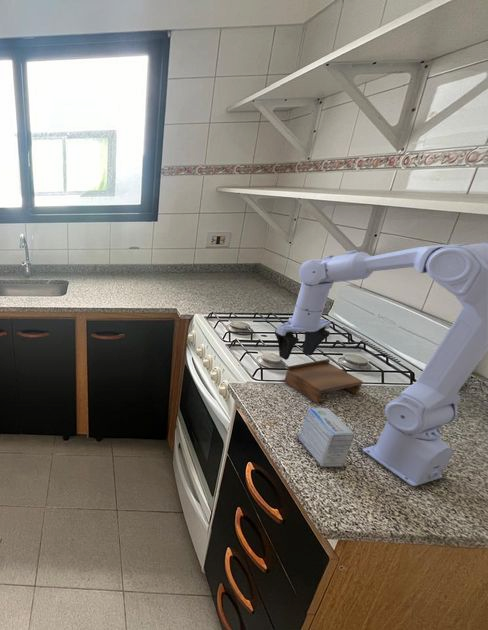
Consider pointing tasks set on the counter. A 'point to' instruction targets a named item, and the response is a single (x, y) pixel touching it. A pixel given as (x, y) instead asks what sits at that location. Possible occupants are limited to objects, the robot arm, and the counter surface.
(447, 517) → the counter surface
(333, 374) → the wooden display riser
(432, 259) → the robot arm
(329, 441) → the medicine box
